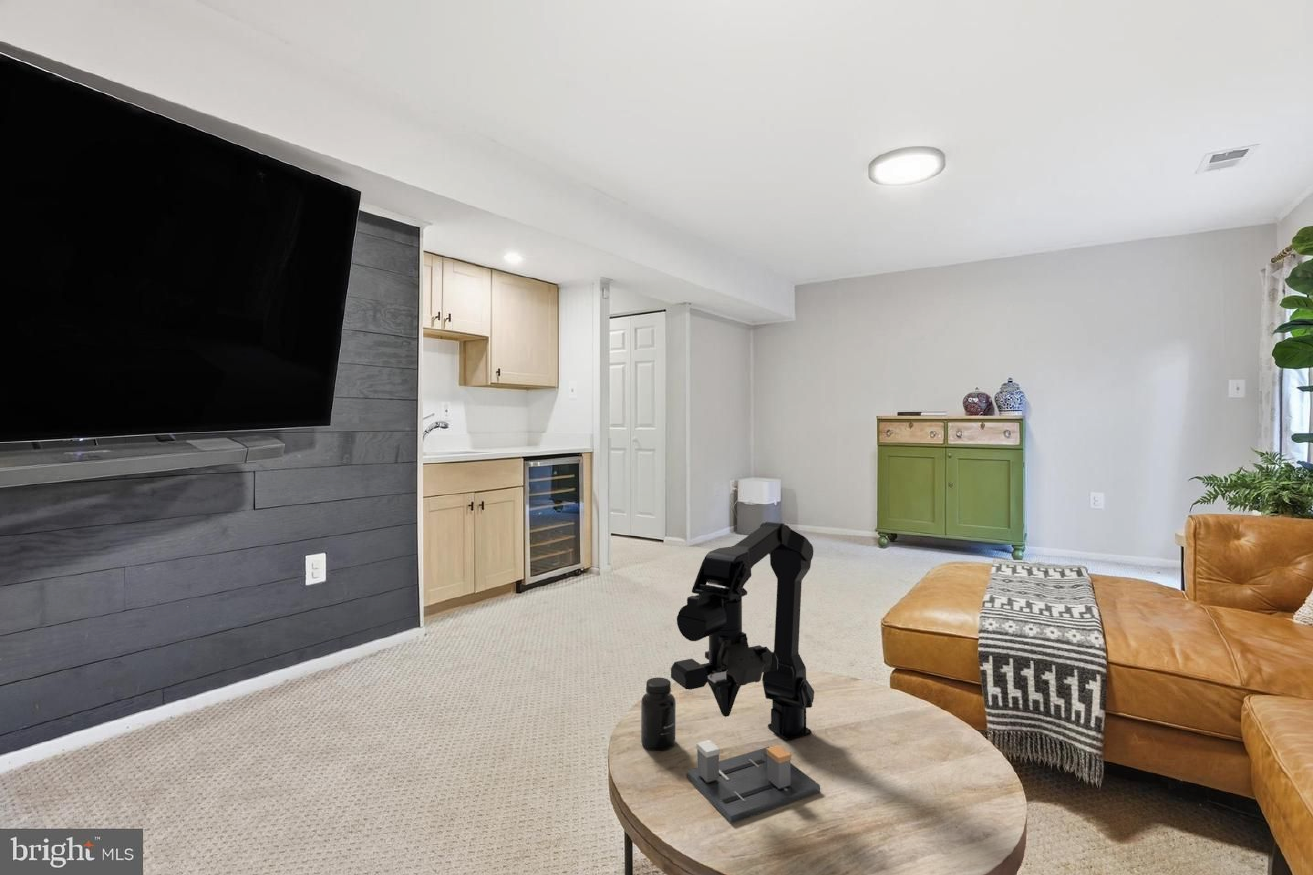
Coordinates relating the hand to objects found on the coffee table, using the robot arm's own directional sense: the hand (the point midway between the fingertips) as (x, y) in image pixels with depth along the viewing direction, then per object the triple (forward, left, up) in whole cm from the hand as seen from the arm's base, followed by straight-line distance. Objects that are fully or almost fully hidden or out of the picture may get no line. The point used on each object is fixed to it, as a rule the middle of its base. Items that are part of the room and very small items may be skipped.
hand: (725, 715), depth 102 cm
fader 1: (+3, -1, -11) cm, 11 cm away
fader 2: (-7, +5, -10) cm, 14 cm away
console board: (-4, +2, -12) cm, 13 cm away
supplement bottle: (+4, -18, -12) cm, 22 cm away
